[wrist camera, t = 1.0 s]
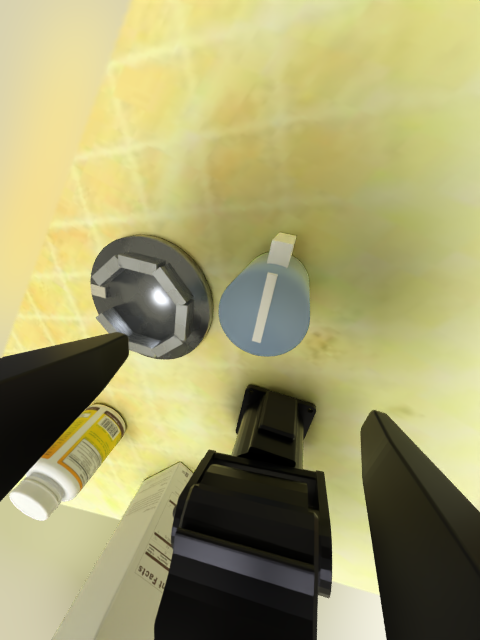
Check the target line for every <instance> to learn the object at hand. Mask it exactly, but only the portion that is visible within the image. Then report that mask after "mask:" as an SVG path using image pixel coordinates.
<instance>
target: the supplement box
mask: <svg viewBox="0 0 480 640" xmlns="http://www.w3.org/2000/svg"><path fill="white" fill-rule="evenodd" d="M192 475H193V473H192V472H191V471H190V470H189V469H188V468H187V467H185V466H184V465H183V464H182V463H181V462H179V463H177V464H175V465H173V466H171V467H169V468H167V469H165V470H163V471H161V472H160V473H158V474H156V475H154V476H152V477H150V478H148V479H146V480H144V481H143V483H142V484H141V486H140V488H139V490H138V491H137V493H136V495H135V496H134V498H133V500H132V502H131V503H130V505H129V507H128V508H127V510H126V512H125V514H124V515H123V517H122V519H121V520H120V522H119V524H118V526H117V527H116V529H115V531H114V533H113V534H112V536H111V538H110V540H109V541H108V543H107V545H106V546H105V548H104V550H103V552H102V553H101V555H100V557H99V558H98V560H97V562H96V564H95V565H94V567H93V569H92V571H91V572H90V574H89V576H88V578H87V579H86V581H85V583H84V584H83V586H82V588H81V590H80V591H79V593H78V595H77V596H76V598H75V600H74V602H73V603H72V605H71V607H70V608H69V610H68V612H67V614H66V616H65V617H64V619H63V621H62V622H61V624H60V626H59V628H58V629H57V631H56V633H55V634H54V636H53V638H52V640H154V623H155V619H156V615H157V612H158V608H159V605H160V601H161V598H162V595H163V591H164V588H165V584H166V580H167V576H168V572H169V568H170V563H171V559H172V554H173V549H172V547H171V532H172V525H173V520H174V518H173V509H174V507H175V505H176V504H177V501H178V498H179V496H180V494H181V492H182V491H183V489H184V488H185V486H186V484H187V483H188V481H189V480H190V478H191V476H192Z"/></svg>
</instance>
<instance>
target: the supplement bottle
mask: <svg viewBox="0 0 480 640" xmlns="http://www.w3.org/2000/svg"><path fill="white" fill-rule="evenodd" d="M124 433H125V423H124V421H123V419H122V418H121V416H120V415H119V414H118V413H117V412H116V411H114V410H113V409H111V408H110V407H107V406H105V405H99V404H97V405H92V406H90V407H88V408H87V409H86V410H85V411H84V412H83V413H82V414H81V415H80V416H79V417H78V418H77V419H76V420H75V421H74V422H73V423H72V424H71V426H70V427H69V428H68V429H67V430H66V431H65V432H64V433H63V434H62V435H61V436H60V437H59V439H58V440H57V441H56V442H55V443H54V444H53V445H52V446H51V447H50V448H49V449H48V450H47V452H46V453H45V454H44V455H43V456H42V457H41V458H40V459H39V460H38V461H37V462H36V463H35V465H34V466H33V467H32V468H31V469H30V470H29V471H28V472H27V473H26V475H27V477H26V478H25V479H24V480H23V481H21V482H20V484H19V485H18V486H17V487H16V488H15V489H14V490H13V491H12V492H11V493H10V500H11V501H12V503H13V504H14V505H15V506H16V507H17V508H18V509H19V510H20V511H21V512H23V513H24V514H26V515H27V516H29V517H31V518H33V519H37V520H41V521H42V520H46V519H47V518H48V517H49V516H50V515H51V513H52V512H53V511H54V510H55V509H56V508H57V507H58V505H59V504H60V503H61V501H69V500H72V499H73V498H75V497H76V496H77V494H78V493H79V492H80V491H81V489H82V488H83V487H84V486H85V484H86V483H87V482H88V480H89V479H90V478H91V477H92V475H93V474H94V473H95V471H96V470H97V469H98V468H99V466H100V465H101V464H102V462H103V461H104V460H105V459H106V457H107V456H108V455H109V453H110V452H111V451H112V450H113V448H114V447H115V446H116V445H117V443H118V442H119V441H120V439H121V438H122V437H123V435H124Z"/></svg>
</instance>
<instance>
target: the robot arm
mask: <svg viewBox="0 0 480 640" xmlns="http://www.w3.org/2000/svg"><path fill="white" fill-rule="evenodd" d="M128 355H129V338H128V336H127V335H126V334H123V333H120V332H114V333H109V334H105V335H100V336H96V337H91V338H87V339H82V340H78V341H73V342H69V343H64V344H60V345H55V346H51V347H46V348H42V349H37V350H33V351H28V352H24V353H19V354H15V355H10V356H6V357H3V358H0V501H1V500H2V499H3V498H4V497H5V496H6V495H7V494H8V493H9V491H10V490H11V489H12V488H13V487H14V486H15V485H16V484H17V483H18V482H19V481H20V480H21V479H22V478H23V476H24V475H25V474H26V473H27V472H28V471H29V470H30V469H31V468H32V467H33V466H34V465H35V463H36V462H37V461H38V460H39V459H40V458H41V457H42V456H43V455H44V454H45V453H46V452H47V450H48V449H49V448H50V447H51V446H52V445H53V444H54V443H55V442H56V441H57V440H58V439H59V437H60V436H61V435H62V434H63V433H64V432H65V431H66V430H67V429H68V428H69V427H70V426H71V424H72V423H73V422H74V421H75V420H76V419H77V418H78V417H79V416H80V415H81V414H82V413H83V411H84V410H85V409H86V408H87V407H88V406H89V405H90V404H91V403H92V402H93V401H94V400H95V398H96V397H97V396H98V395H99V394H100V393H101V392H102V391H103V389H104V388H105V387H106V386H107V384H108V383H109V382H110V381H111V379H112V378H113V377H114V375H115V374H116V373H117V371H118V370H119V369H120V367H121V366H122V365H123V363H124V362H125V361H126V359H127V357H128ZM250 390H252V391H250ZM309 408H310V409H311V410H309ZM315 413H316V406H315V405H314V404H312V403H309V402H305V401H302V400H299V399H296V398H292V397H289V396H286V395H283V394H279V393H276V392H273V391H270V390H266V389H263V388H260V387H257V386H253V385H248V386H247V388H246V391H245V395H244V399H243V403H242V407H241V411H240V415H239V419H238V423H237V427H236V433H237V434H238V435H237V438H236V442H235V445H234V448H233V452H232V455H228V454H222V453H217V452H216V451H214V450H208V452H207V453H206V455H205V457H204V458H203V459H202V460H201V462H200V464H199V465H198V467H197V468H196V470H195V472H194V473H193V475H192V476H191V478H190V480H189V481H188V483H187V484H186V486H185V488H184V489H183V491H182V492H181V494H180V496H179V498H178V501H177V504H176V505H175V507H174V509H173V518H174V520H173V525H172V532H171V547H172V549H173V554H172V559H171V563H170V568H169V572H168V576H167V580H166V584H165V588H164V591H163V595H162V598H161V601H160V605H159V608H158V612H157V615H156V619H155V623H154V640H317V604H318V595H320V596H323V597H327V598H329V597H330V593H331V584H332V538H331V525H330V516H329V508H328V500H327V493H326V485H325V477H324V472H322V471H317V470H316V472H314V471H309V470H304V469H303V440H304V438H305V436H306V434H307V431H308V429H309V427H310V424H311V422H312V420H313V418H314V415H315ZM361 457H362V478H363V486H364V493H365V500H366V506H367V513H368V519H369V526H370V533H371V539H372V546H373V552H374V559H375V566H376V572H377V579H378V585H379V592H380V598H381V605H382V612H383V618H384V624H385V631H386V638H387V640H480V512H479V511H478V510H477V509H476V508H475V507H474V506H473V504H472V503H471V502H470V501H469V500H468V499H467V498H466V497H465V496H464V495H463V494H462V493H461V492H460V491H459V490H458V489H457V488H456V487H455V486H454V484H453V483H452V482H451V481H450V480H449V479H448V478H447V477H446V476H445V475H444V474H443V473H442V472H441V471H440V470H439V469H438V468H437V467H436V466H435V464H434V463H433V462H432V461H431V460H430V459H429V458H428V457H427V456H426V455H425V454H424V453H423V452H422V451H421V450H420V449H419V448H418V447H417V445H416V444H415V443H414V442H413V441H412V440H411V439H410V438H409V437H408V436H407V435H406V434H405V433H404V432H403V431H402V430H401V429H400V428H399V427H398V425H397V424H396V423H395V422H394V421H393V420H392V419H391V418H390V417H389V416H388V415H387V414H385V413H383V412H380V411H376V410H372V411H371V412H370V413H369V415H368V417H367V419H366V420H365V422H364V424H363V425H362V428H361Z"/></svg>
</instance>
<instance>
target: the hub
mask: <svg viewBox="0 0 480 640" xmlns="http://www.w3.org/2000/svg"><path fill="white" fill-rule="evenodd" d="M91 292H92V297H93V300H94V304H95V306H96V309H97V311H98V313H99V316H97V317H96V319H97V320H98V321H99V322H100V323H101V325H102V326H103V327H104V328H105V329H106V330H107V332H108V333H114V332H120V333H123V334H126V335H127V336H128V338H129V350H131V351H134V352H137V353H139V354H142V355H144V356H147V357H151V358H156V359H175V358H178V357H182V356H184V355H186V354H188V353H190V352H191V351H193V350H194V349H195V348H196V347H197V346H198V345H199V343H200V342H201V341H202V340H203V338H204V337H205V336H206V334H207V332H208V330H209V328H210V325H211V322H212V317H213V300H212V295H211V291H210V288H209V285H208V283H207V280H206V278H205V276H204V274H203V273H202V271H201V270H200V268H199V267H198V265H197V264H196V263H195V262H194V260H193V259H192V258H191V257H190V256H189V255H188V254H187V253H185V252H184V251H183V250H182V249H181V248H179V247H178V246H176V245H174V244H173V243H171V242H169V241H167V240H164V239H162V238H159V237H155V236H149V235H136V236H129V237H124V238H121V239H118V240H115V241H113V242H111V243H110V244H108V245H107V246H106V247H105V248H103V250H102V251H101V252H100V253H99V255H98V256H97V258H96V260H95V262H94V265H93V268H92V273H91Z"/></svg>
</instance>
